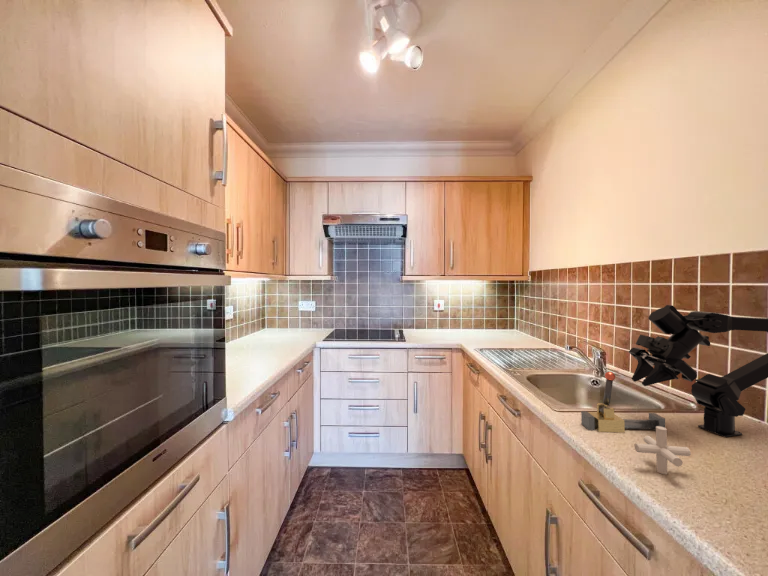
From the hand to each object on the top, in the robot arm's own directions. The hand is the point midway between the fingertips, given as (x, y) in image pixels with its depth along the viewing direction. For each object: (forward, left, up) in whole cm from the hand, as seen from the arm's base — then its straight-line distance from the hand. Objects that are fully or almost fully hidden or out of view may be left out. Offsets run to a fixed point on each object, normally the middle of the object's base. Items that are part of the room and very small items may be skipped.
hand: (637, 382), depth 91 cm
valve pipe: (+4, -1, -14) cm, 14 cm away
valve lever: (+9, -3, -10) cm, 13 cm away
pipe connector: (+16, +18, -14) cm, 28 cm away
